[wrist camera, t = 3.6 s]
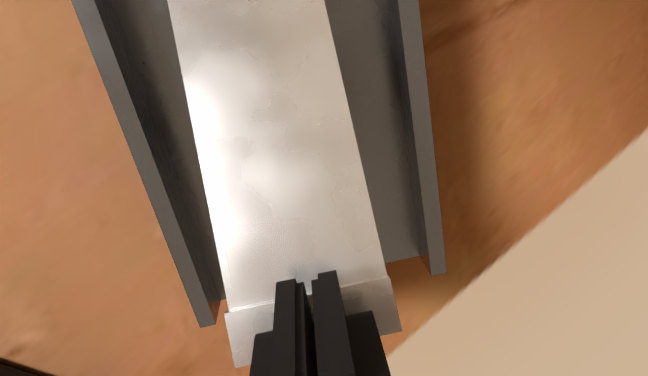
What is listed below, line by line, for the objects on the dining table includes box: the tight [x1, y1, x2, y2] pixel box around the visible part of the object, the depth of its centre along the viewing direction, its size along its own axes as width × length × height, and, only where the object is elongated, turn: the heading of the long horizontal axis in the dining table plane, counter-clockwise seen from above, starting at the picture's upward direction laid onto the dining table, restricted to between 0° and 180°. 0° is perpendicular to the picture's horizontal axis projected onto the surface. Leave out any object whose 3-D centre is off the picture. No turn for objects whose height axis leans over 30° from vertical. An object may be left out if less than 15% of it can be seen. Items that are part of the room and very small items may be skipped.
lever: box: [167, 0, 402, 368], centre depth 14 cm, size 19×5×2 cm, turn 13°
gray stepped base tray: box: [71, 0, 447, 328], centre depth 20 cm, size 22×14×7 cm, turn 11°
